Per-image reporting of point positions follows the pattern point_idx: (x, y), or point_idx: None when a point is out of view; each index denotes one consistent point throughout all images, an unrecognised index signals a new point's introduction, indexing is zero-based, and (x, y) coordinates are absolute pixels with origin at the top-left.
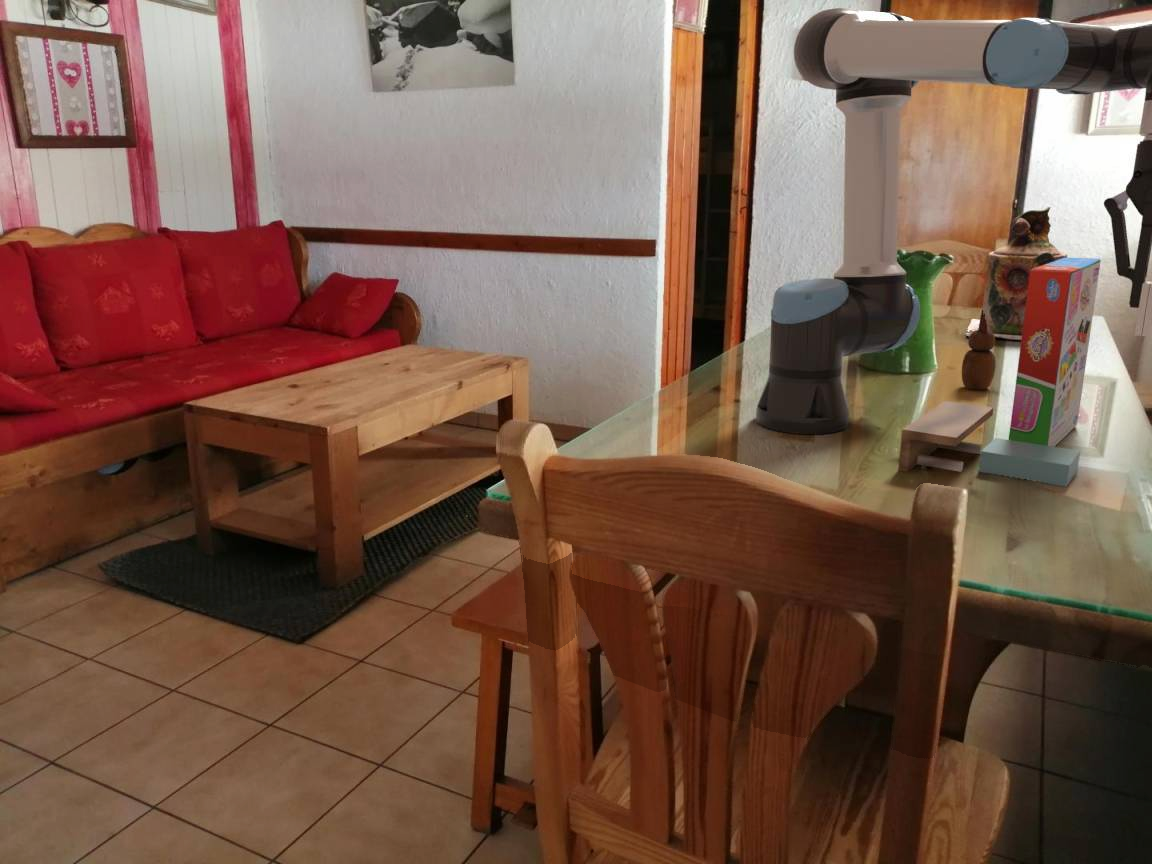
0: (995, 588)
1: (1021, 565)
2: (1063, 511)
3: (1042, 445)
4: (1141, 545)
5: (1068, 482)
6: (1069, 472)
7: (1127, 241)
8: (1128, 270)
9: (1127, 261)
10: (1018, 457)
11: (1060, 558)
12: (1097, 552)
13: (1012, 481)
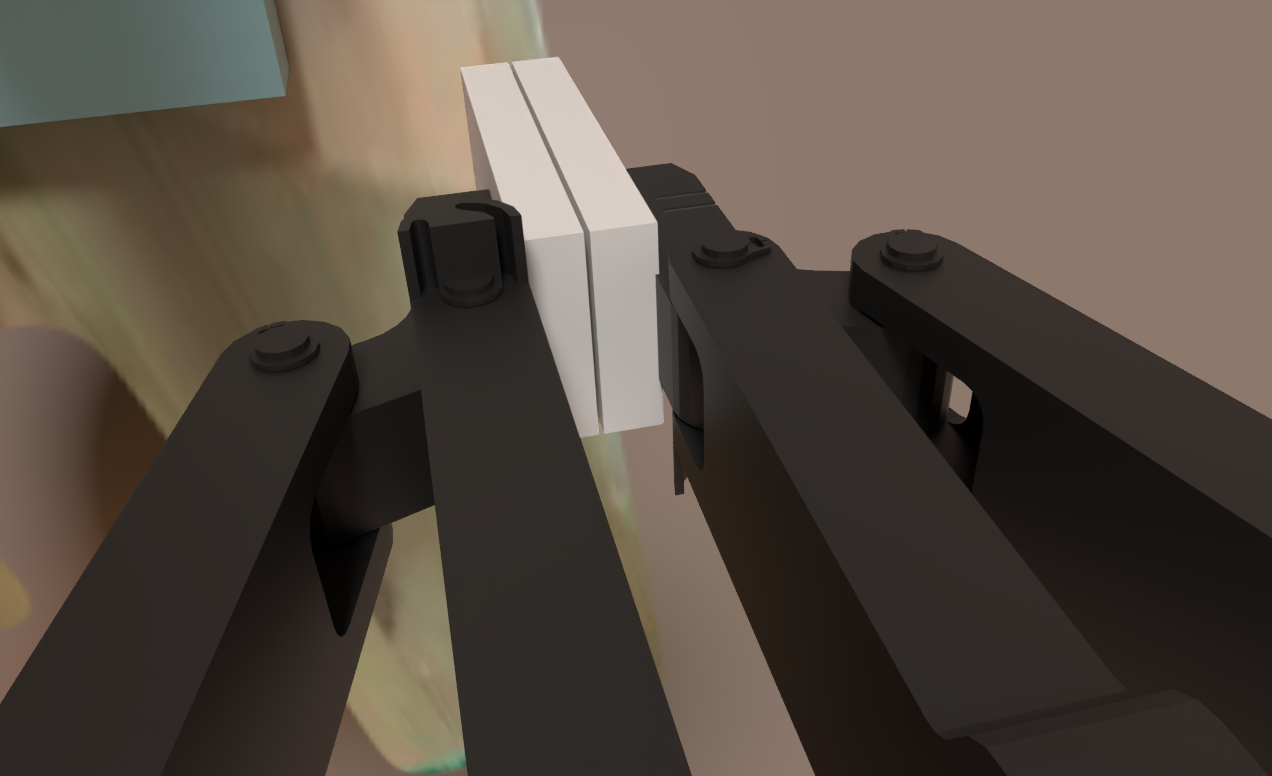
0: (446, 768)
1: (442, 671)
2: (383, 320)
3: None
4: None
5: (280, 31)
6: (281, 59)
7: (231, 655)
8: (390, 531)
9: (365, 605)
10: (75, 118)
11: None
12: None
13: (109, 137)
